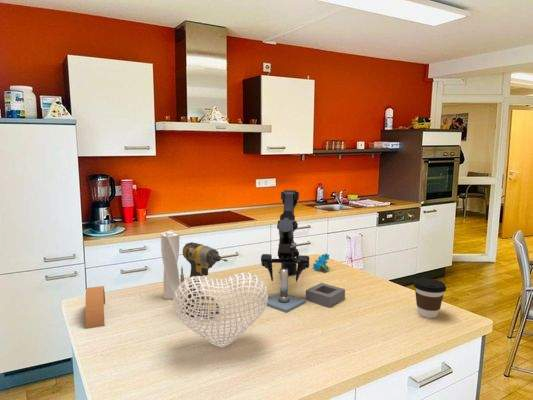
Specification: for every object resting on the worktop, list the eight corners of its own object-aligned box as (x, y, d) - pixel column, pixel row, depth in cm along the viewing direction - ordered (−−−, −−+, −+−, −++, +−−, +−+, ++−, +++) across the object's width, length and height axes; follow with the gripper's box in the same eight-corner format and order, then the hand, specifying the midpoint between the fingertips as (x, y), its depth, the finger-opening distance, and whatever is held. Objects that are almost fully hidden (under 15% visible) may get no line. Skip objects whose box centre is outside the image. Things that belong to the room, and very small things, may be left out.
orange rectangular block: (85, 329, 130) (83, 300, 129) (89, 305, 149) (87, 280, 147) (104, 326, 133) (102, 298, 131) (106, 303, 151) (104, 278, 149)
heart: (261, 329, 131) (261, 264, 127) (273, 353, 116) (273, 281, 112) (174, 339, 124) (172, 271, 121) (175, 366, 109) (172, 289, 106)
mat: (261, 303, 151) (261, 301, 151) (281, 294, 160) (281, 292, 160) (286, 312, 143) (286, 310, 143) (305, 302, 152) (305, 300, 152)
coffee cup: (447, 322, 136) (450, 289, 134) (414, 319, 138) (416, 287, 136) (440, 309, 146) (442, 278, 145) (409, 307, 149) (411, 276, 147)
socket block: (305, 299, 155) (305, 290, 154) (321, 291, 163) (321, 282, 162) (329, 307, 148) (330, 297, 147) (344, 299, 156) (345, 289, 155)
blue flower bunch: (310, 262, 197) (325, 249, 195) (318, 270, 198) (333, 257, 196) (313, 272, 186) (329, 259, 184) (322, 280, 187) (337, 267, 185)
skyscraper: (180, 301, 153) (178, 231, 149) (159, 301, 153) (157, 231, 149) (185, 293, 162) (183, 226, 157) (165, 293, 162) (163, 226, 157)
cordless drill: (216, 327, 132) (215, 254, 128) (176, 311, 144) (174, 244, 140) (234, 317, 139) (233, 248, 135) (195, 303, 151) (193, 239, 147)
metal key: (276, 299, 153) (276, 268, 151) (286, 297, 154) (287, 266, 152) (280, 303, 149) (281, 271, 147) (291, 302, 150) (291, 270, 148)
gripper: (261, 234, 154) (257, 270, 145) (309, 235, 152) (309, 272, 143) (263, 248, 163) (260, 283, 154) (309, 249, 161) (308, 285, 152)
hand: (284, 281), depth 150 cm, fingers open, 9 cm apart
